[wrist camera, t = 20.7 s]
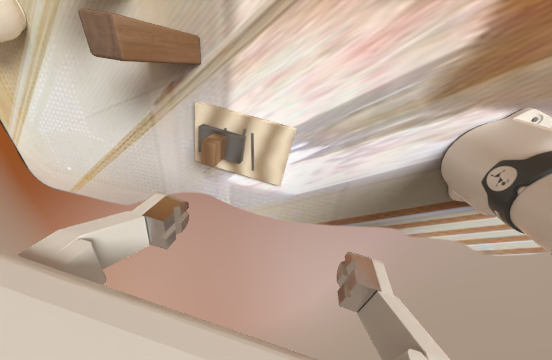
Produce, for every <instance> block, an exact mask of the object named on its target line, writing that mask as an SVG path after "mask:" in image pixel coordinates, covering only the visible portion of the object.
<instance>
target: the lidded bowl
mask: <svg viewBox="0 0 552 360" xmlns="http://www.w3.org/2000/svg"><path fill="white" fill-rule="evenodd" d="M26 26H27V21H26V16H25V13H24V11H23V9H22V7H21V5H20V3H19V2H18V1H17V0H0V42H6V41H10V40H13V39H15V38H17V37H18V36H19V35H20V34H21V33H22V31H24V30H25V29H26Z"/></svg>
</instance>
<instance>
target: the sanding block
mask: <svg viewBox="0 0 552 360" xmlns="http://www.w3.org/2000/svg"><path fill="white" fill-rule="evenodd" d="M245 142H246V136H243V135H240V134H237V133H233V132H230V131H226V130H223V129H219V128H216V127H212V126H209V125H206V124H202V125H200V126H198V152H201V163H202V164H205V165H208V166H212V167H215V166H216V165H217V164H218V163H219V162H221V161H222V160H223V159H224V160H227V161H231V162H234V163H237V164H240V163H241V162H242V161H243V156H244V149H245Z"/></svg>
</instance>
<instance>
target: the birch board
mask: <svg viewBox="0 0 552 360" xmlns="http://www.w3.org/2000/svg"><path fill="white" fill-rule="evenodd" d="M202 124H206V125H209V126H212V127H216V128H219V129H223V130H226V131H230V132H233V133H237V134H240V135H243V136H246V142H245V149H244V156H243V161H242V162H241V163H240V164H237V163H234V162H231V161H227V160H224V159H223V160H222V161H221V162H219V163H218V164H217V165H216V166H215V167H217V168H221V169H224V170H228V171H231V172H234V173H238V174H241V175H244V176H248V177H251V178H255V179H258V180H261V181H265V182H268V183H271V184H275V185H278V186H280V185H281V182H282V179H283V175H284V171H285V168H286V164H287V161H288V157H289V153H290V150H291V146H292V142H293V139H294V135H295V132H296V128H293V127H289V126H286V125H282V124H279V123H275V122H271V121H268V120H264V119H261V118H257V117H253V116H250V115H246V114H243V113H239V112H235V111H232V110H228V109H225V108H221V107H217V106H214V105H210V104H206V103H203V102H199V101H198V102H195V161H197V162H201V152H198V126H200V125H202Z"/></svg>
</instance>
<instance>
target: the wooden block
mask: <svg viewBox="0 0 552 360" xmlns="http://www.w3.org/2000/svg"><path fill="white" fill-rule="evenodd" d="M79 15H80V18H81V22H82V25H83V28H84V32H85V35H86V38H87V41H88V45H89V48H90V51H91V53H92V55H94V56H96V57H102V58H108V59H114V60H120V61H135V62H159V63H182V64H201V52H200V38H199V37H198V36H196V35H192V34H188V33H185V32H181V31H177V30H173V29H170V28H166V27H162V26H159V25H155V24H151V23H148V22H144V21H140V20H136V19H133V18H129V17H125V16H122V15H118V14H114V13H109V12H102V11H94V10H87V9H80V10H79Z"/></svg>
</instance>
